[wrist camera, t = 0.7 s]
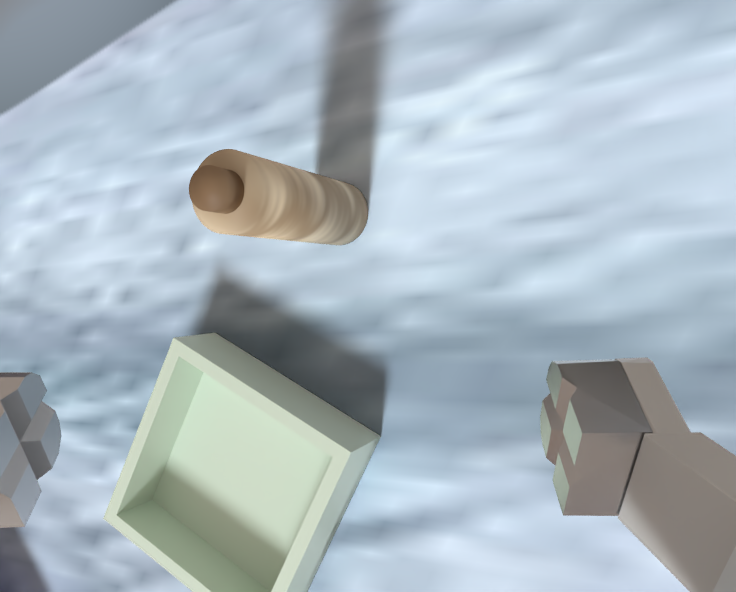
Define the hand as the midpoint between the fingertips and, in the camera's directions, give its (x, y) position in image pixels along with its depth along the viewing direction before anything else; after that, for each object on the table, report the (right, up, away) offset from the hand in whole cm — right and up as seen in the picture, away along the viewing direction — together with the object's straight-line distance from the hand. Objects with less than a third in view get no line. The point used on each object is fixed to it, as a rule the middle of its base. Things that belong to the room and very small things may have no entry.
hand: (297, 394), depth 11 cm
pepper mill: (-1, +8, +39) cm, 40 cm away
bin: (-8, -12, +42) cm, 45 cm away
